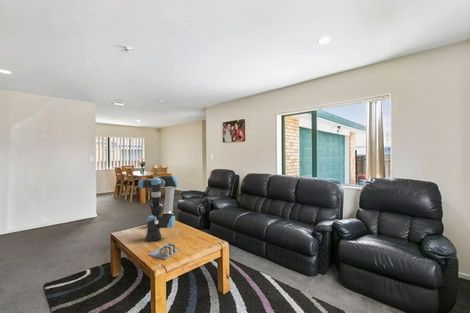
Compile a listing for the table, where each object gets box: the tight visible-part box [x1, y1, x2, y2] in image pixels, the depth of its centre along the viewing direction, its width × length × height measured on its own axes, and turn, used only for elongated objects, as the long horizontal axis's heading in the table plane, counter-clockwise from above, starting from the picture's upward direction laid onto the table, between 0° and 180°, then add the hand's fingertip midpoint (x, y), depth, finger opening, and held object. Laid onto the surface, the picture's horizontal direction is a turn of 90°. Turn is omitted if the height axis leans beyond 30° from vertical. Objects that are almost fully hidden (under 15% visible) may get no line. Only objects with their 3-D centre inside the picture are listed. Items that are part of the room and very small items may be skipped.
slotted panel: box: [158, 242, 177, 256], centre depth 192 cm, size 9×10×6 cm
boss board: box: [148, 241, 180, 260], centre depth 194 cm, size 18×16×8 cm
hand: (156, 223), depth 197 cm, fingers closed
